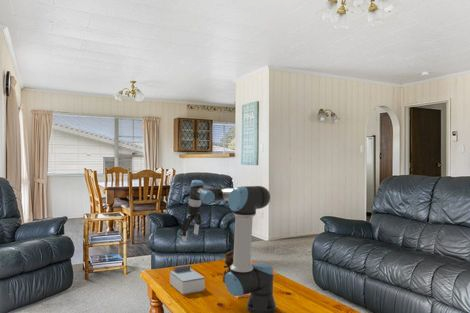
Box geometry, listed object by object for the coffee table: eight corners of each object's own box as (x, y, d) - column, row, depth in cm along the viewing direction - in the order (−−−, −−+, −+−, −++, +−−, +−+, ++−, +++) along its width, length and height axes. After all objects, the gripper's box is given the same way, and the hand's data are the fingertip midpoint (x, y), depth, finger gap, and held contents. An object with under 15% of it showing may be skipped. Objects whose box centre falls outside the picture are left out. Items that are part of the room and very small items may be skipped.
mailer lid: (204, 278, 214) (204, 272, 214) (182, 282, 206) (182, 275, 206) (190, 269, 231) (190, 263, 231) (170, 272, 224) (170, 266, 224)
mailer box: (204, 290, 214) (204, 278, 214) (182, 295, 206) (182, 282, 206) (190, 280, 231) (190, 269, 231) (169, 284, 224) (170, 273, 224)
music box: (231, 285, 223) (229, 252, 224) (218, 283, 230) (216, 251, 231) (246, 279, 235) (244, 248, 236) (232, 277, 242) (231, 246, 243)
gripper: (199, 199, 234) (195, 229, 237) (177, 208, 211) (173, 241, 215) (209, 202, 231) (205, 233, 234) (188, 211, 208) (184, 245, 212)
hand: (190, 237), depth 225 cm, fingers open, 13 cm apart
